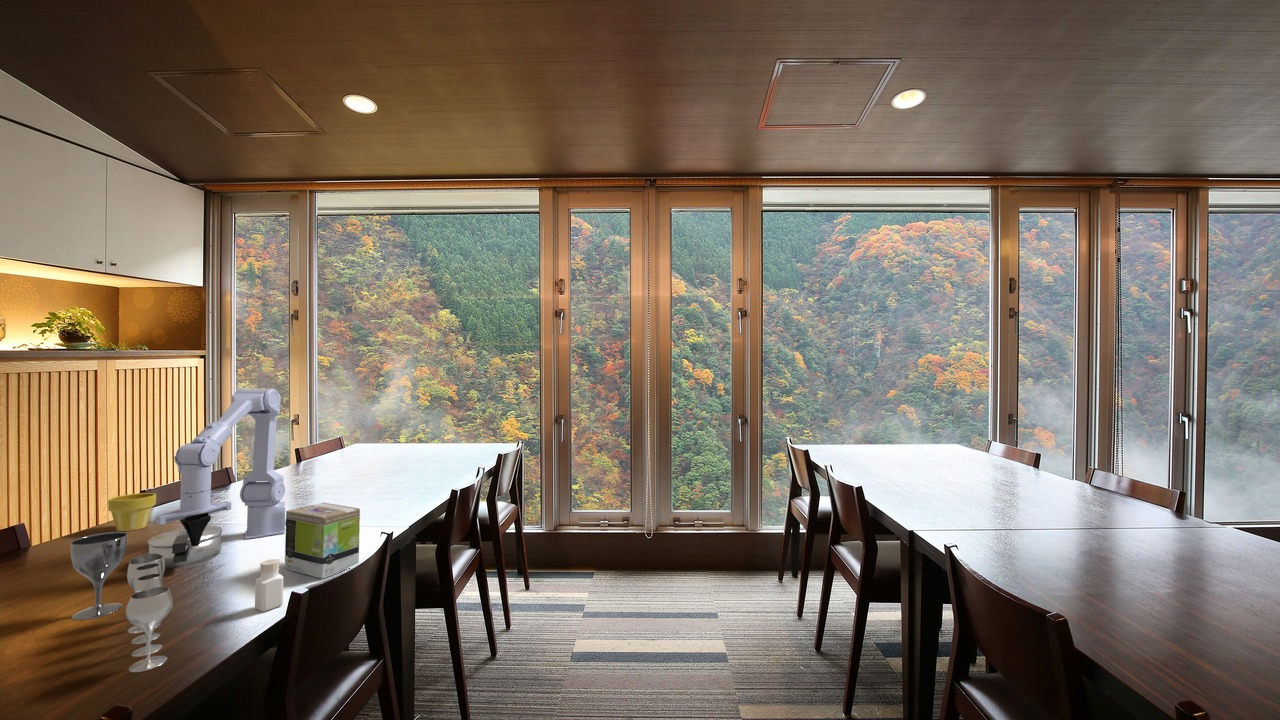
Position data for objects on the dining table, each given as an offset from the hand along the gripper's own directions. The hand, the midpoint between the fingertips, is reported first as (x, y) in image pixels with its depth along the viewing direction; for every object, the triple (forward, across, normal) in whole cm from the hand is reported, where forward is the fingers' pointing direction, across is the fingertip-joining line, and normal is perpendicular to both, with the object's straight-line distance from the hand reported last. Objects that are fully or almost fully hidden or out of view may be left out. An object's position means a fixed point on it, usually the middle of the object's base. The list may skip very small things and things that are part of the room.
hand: (194, 545), depth 126 cm
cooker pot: (+5, -1, -7) cm, 9 cm away
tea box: (+6, -14, +28) cm, 32 cm away
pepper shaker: (+6, +4, +39) cm, 40 cm away
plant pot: (+6, -7, -53) cm, 54 cm away
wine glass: (+6, +20, +10) cm, 23 cm away
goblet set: (+6, +21, +32) cm, 39 cm away
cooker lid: (0, -1, -7) cm, 7 cm away
